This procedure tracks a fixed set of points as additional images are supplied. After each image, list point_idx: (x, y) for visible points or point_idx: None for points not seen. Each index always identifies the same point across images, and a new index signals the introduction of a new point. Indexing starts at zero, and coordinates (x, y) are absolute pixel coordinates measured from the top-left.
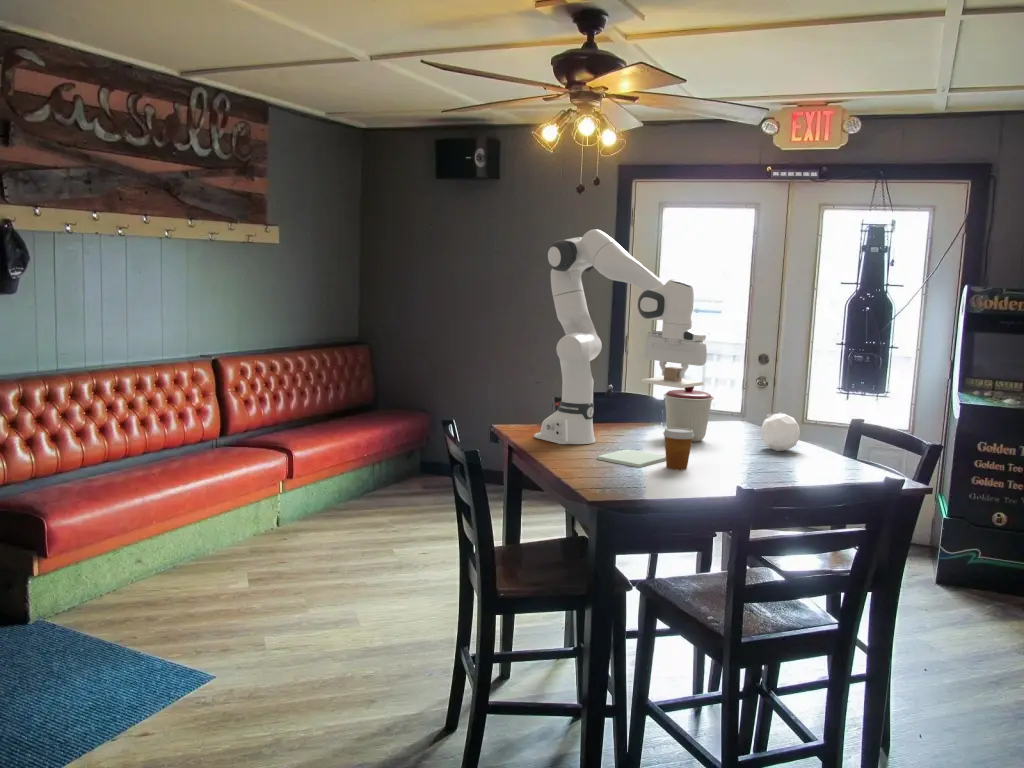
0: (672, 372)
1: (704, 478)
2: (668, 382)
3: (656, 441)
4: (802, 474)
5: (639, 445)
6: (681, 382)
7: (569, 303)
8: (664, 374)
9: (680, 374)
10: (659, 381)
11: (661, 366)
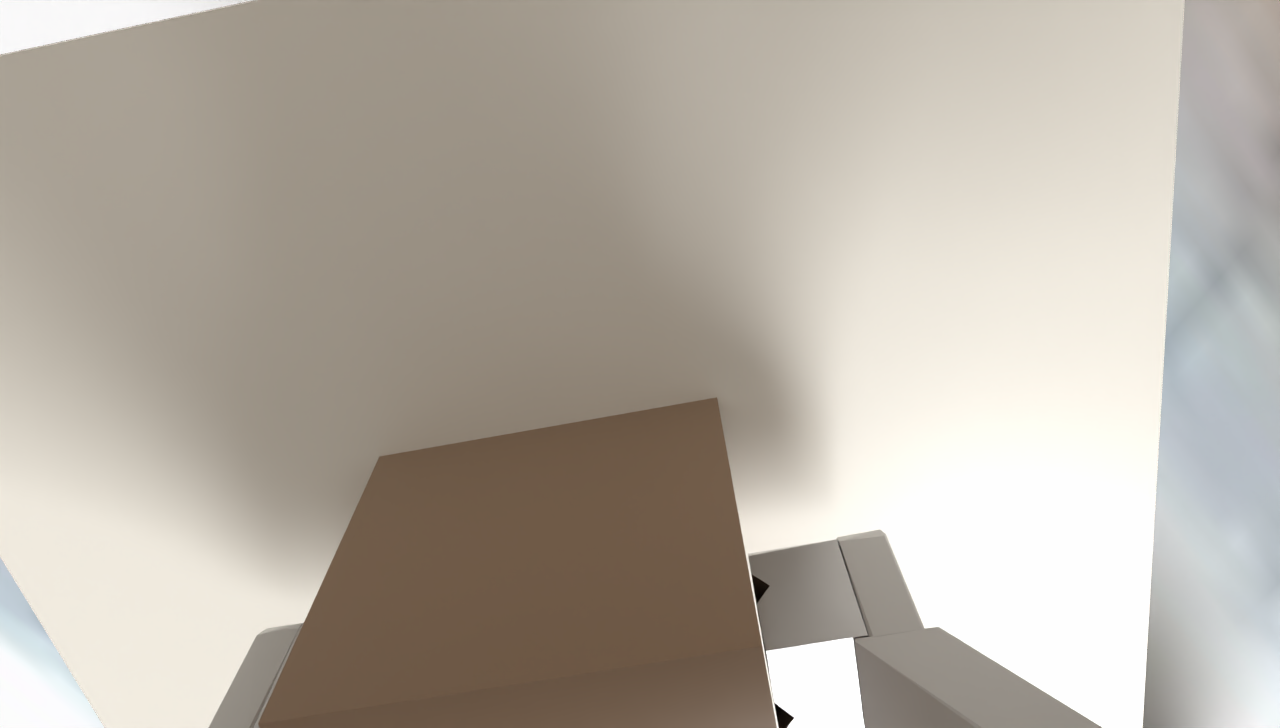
0: (427, 594)
1: (118, 26)
2: (287, 143)
3: (1179, 677)
4: (17, 693)
5: (1194, 495)
6: (235, 516)
7: None
8: (723, 487)
9: (253, 685)
10: (546, 24)
11: (999, 711)
